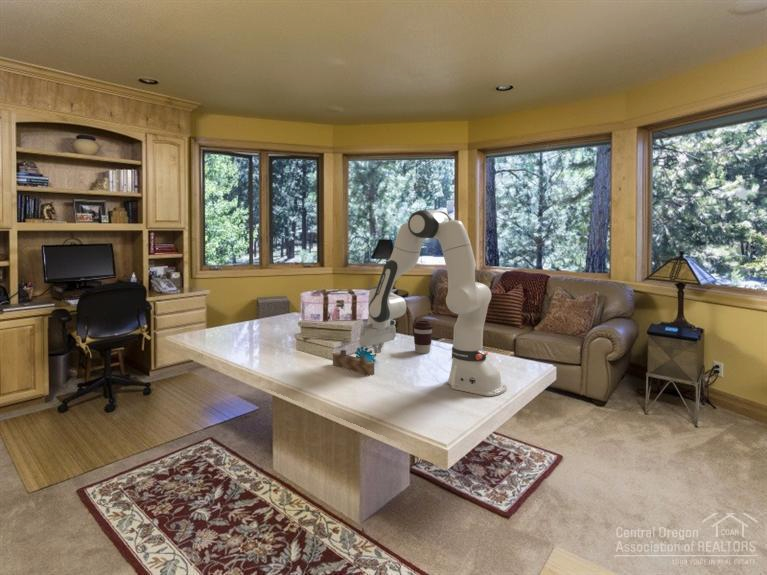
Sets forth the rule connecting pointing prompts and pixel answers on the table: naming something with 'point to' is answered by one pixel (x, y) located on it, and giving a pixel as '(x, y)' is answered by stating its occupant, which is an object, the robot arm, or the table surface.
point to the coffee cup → (422, 336)
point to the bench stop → (353, 363)
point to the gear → (367, 354)
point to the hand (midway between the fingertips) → (377, 352)
